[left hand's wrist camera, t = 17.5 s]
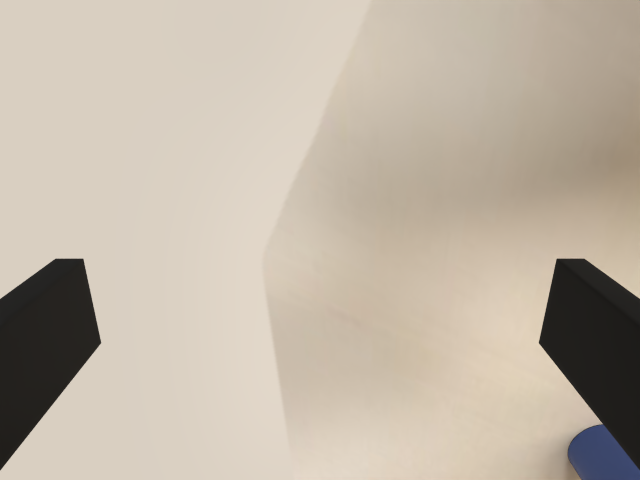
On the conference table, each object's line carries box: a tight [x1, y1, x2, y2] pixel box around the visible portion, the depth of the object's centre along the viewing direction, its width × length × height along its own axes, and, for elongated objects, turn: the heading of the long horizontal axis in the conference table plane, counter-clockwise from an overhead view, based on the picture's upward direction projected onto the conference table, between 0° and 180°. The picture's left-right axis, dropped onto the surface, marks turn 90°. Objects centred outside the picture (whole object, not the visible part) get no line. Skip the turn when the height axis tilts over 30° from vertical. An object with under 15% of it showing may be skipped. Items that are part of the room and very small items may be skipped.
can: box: [568, 425, 640, 480], centre depth 48 cm, size 7×7×8 cm
